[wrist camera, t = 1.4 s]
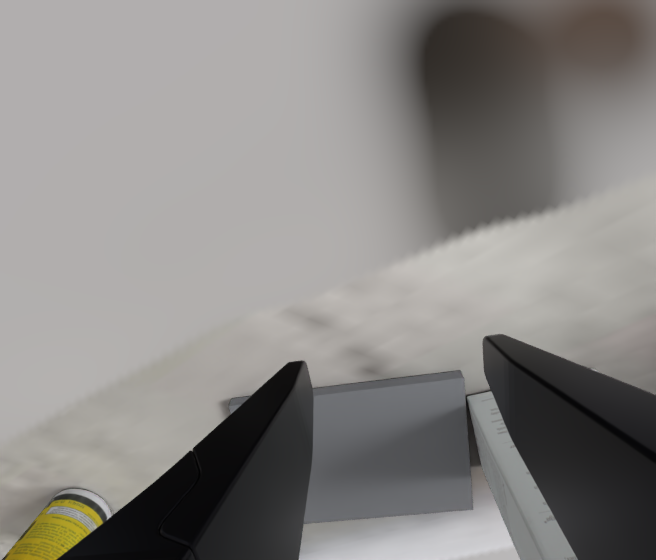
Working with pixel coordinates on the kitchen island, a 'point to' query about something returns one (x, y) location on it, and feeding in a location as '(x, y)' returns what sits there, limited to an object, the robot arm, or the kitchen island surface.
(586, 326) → the kitchen island surface
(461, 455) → the mat
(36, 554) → the supplement bottle
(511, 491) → the small box
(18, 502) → the kitchen island surface
